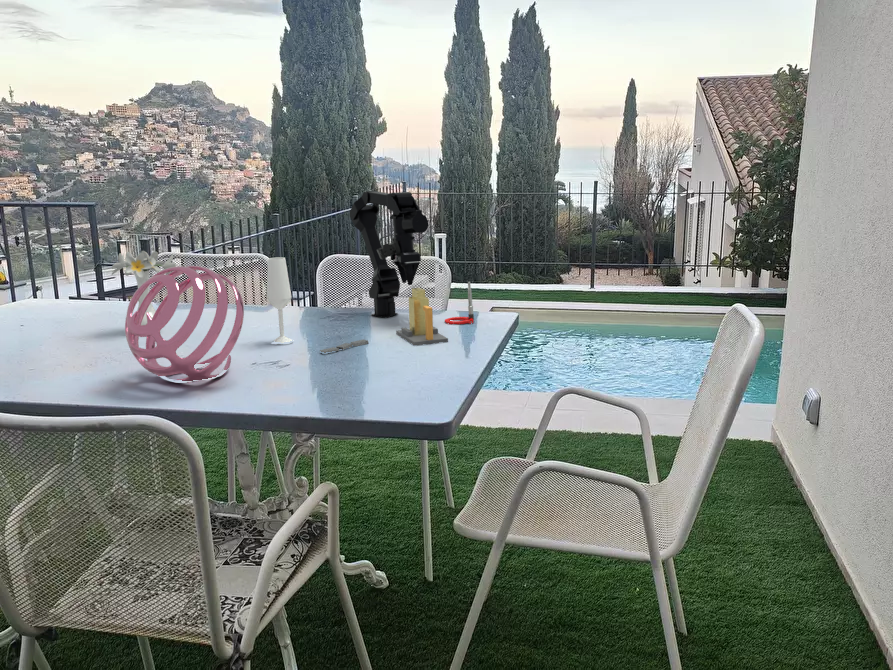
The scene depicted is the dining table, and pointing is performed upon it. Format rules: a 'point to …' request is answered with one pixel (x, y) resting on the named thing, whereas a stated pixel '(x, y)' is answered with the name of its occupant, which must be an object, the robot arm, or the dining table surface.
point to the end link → (417, 311)
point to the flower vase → (142, 272)
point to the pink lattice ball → (165, 314)
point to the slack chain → (346, 346)
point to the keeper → (431, 331)
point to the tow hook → (470, 309)
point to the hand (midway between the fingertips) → (407, 283)
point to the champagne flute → (278, 290)
